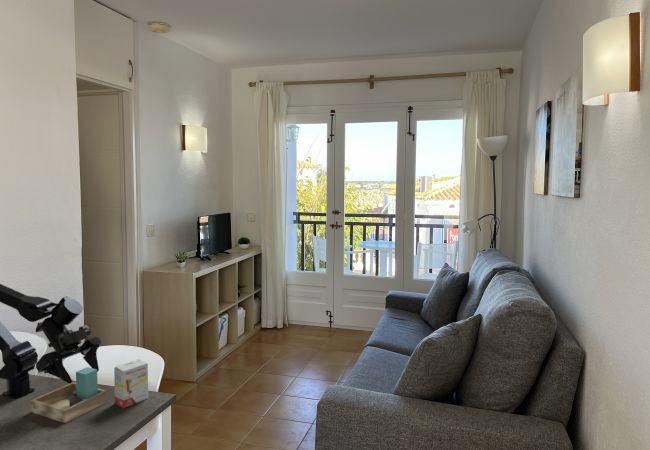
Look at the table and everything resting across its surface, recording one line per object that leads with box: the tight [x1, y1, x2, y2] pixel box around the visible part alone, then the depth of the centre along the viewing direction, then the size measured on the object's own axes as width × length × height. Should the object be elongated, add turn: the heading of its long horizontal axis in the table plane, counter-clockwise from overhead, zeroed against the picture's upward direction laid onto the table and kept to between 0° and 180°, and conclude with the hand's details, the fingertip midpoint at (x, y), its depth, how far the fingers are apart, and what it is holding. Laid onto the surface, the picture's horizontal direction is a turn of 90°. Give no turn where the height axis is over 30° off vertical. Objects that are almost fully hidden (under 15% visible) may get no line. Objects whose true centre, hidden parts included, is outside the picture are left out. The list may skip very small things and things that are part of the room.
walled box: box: [30, 381, 108, 424], centre depth 145 cm, size 14×14×4 cm
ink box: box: [113, 359, 149, 409], centre depth 149 cm, size 9×5×12 cm, turn 143°
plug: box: [75, 366, 99, 399], centre depth 146 cm, size 4×4×10 cm
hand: (84, 376), depth 146 cm, fingers open, 9 cm apart
